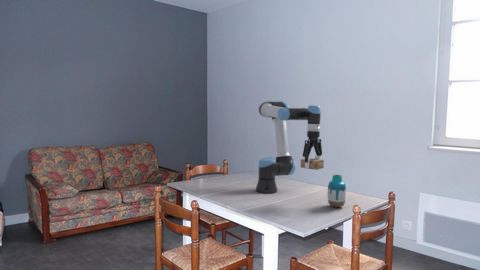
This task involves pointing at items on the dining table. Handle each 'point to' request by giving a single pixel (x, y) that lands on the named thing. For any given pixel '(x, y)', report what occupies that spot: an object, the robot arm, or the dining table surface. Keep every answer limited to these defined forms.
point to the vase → (336, 191)
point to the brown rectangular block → (313, 164)
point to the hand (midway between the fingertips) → (312, 166)
